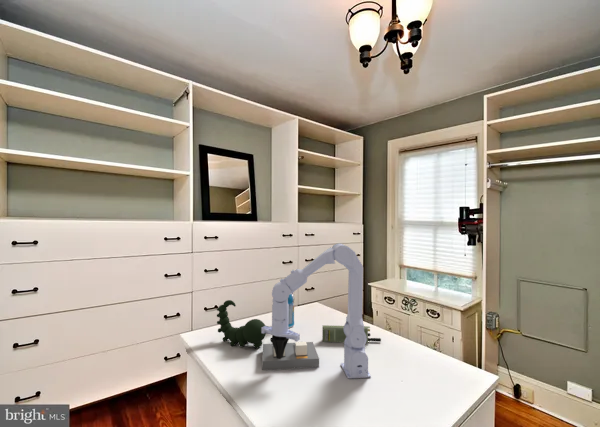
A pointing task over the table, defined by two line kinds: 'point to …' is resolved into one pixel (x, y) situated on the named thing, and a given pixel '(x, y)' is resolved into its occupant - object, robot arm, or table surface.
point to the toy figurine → (240, 329)
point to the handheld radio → (341, 334)
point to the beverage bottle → (291, 310)
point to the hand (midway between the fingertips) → (279, 357)
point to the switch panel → (289, 358)
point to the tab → (301, 348)
